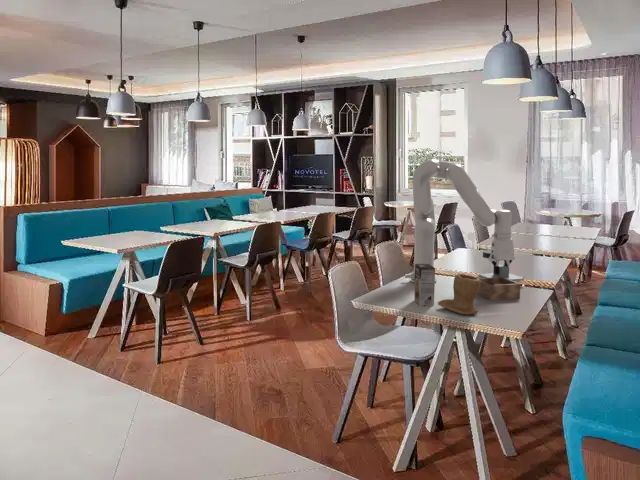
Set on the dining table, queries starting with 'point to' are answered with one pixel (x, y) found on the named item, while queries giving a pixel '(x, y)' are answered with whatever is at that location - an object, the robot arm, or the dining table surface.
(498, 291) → the box
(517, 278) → the lid
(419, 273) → the coffee box
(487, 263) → the jar
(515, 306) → the dining table surface
